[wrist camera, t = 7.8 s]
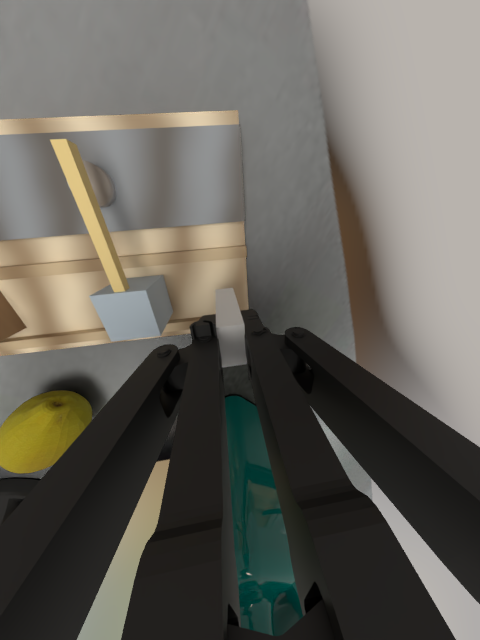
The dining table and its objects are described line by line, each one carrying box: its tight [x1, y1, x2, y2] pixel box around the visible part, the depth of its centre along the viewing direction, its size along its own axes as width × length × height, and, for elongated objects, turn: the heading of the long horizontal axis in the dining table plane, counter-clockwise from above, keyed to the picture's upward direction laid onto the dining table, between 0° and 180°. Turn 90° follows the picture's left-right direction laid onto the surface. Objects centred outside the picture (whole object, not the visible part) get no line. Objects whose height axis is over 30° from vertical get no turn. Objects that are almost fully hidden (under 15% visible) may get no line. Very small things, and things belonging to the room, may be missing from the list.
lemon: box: [0, 390, 92, 474], centre depth 22 cm, size 11×8×8 cm
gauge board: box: [0, 110, 249, 356], centre depth 15 cm, size 28×18×6 cm, turn 94°
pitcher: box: [225, 395, 303, 636], centre depth 21 cm, size 10×8×22 cm
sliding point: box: [50, 139, 173, 342], centre depth 14 cm, size 4×12×5 cm, turn 4°
